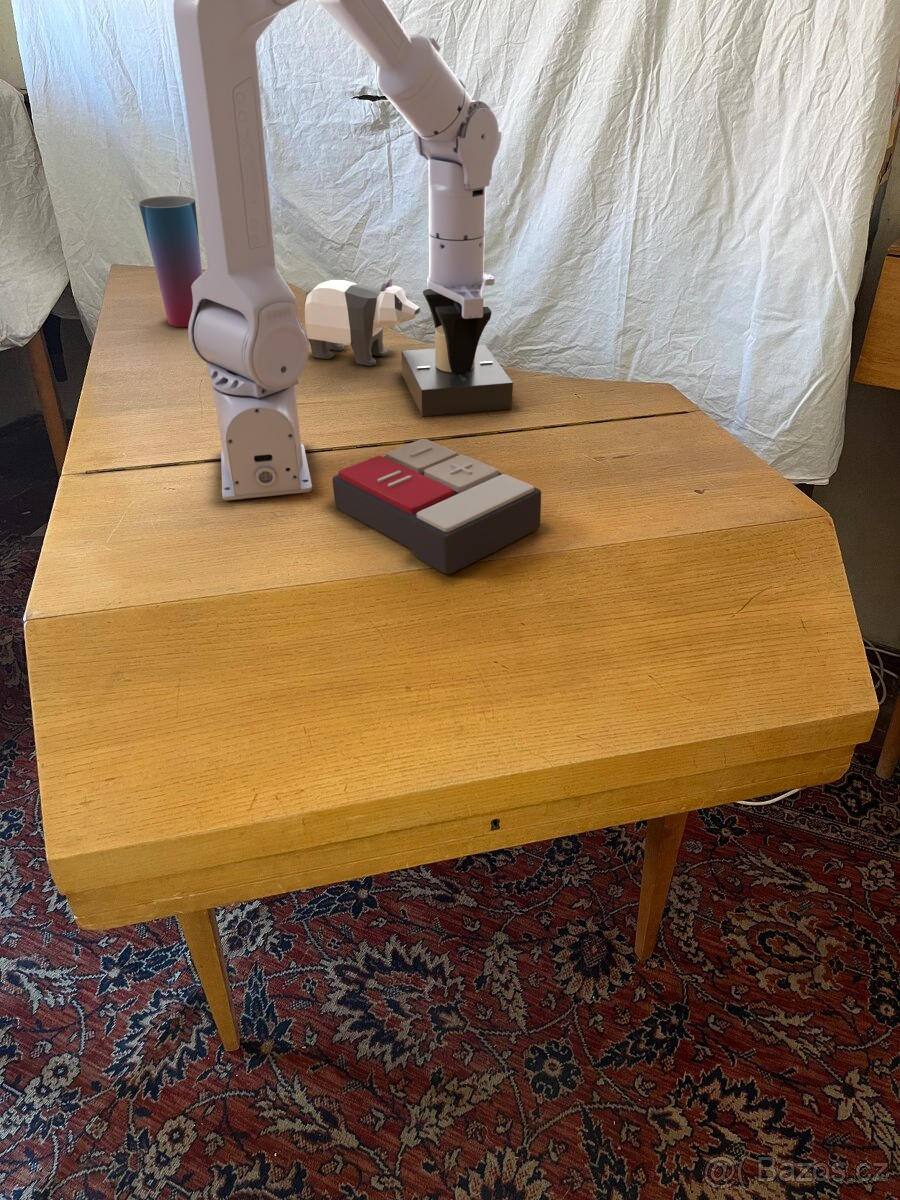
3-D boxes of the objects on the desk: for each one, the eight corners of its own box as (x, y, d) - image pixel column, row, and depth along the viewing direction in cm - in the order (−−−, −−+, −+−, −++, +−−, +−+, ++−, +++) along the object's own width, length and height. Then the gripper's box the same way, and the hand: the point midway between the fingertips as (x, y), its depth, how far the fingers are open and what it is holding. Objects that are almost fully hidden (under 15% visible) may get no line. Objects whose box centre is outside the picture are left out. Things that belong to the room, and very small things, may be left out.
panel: (511, 409, 94) (513, 381, 92) (421, 416, 92) (421, 388, 90) (484, 369, 103) (484, 343, 101) (402, 375, 101) (401, 349, 99)
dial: (440, 374, 93) (440, 335, 91) (431, 360, 97) (431, 322, 94) (479, 371, 94) (480, 332, 92) (469, 357, 98) (470, 319, 95)
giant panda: (301, 357, 106) (293, 277, 100) (322, 342, 110) (315, 265, 104) (411, 373, 102) (409, 291, 96) (428, 357, 106) (427, 278, 100)
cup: (160, 315, 118) (138, 197, 109) (211, 311, 120) (193, 194, 111) (162, 331, 113) (139, 208, 104) (215, 327, 114) (196, 205, 106)
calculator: (424, 432, 80) (544, 481, 71) (426, 474, 82) (542, 527, 73) (328, 469, 74) (446, 528, 65) (333, 513, 76) (447, 576, 67)
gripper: (515, 249, 82) (508, 384, 90) (476, 216, 94) (473, 338, 102) (443, 253, 81) (443, 390, 89) (413, 219, 92) (415, 343, 100)
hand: (455, 363), depth 95 cm, fingers closed on dial, 4 cm apart
